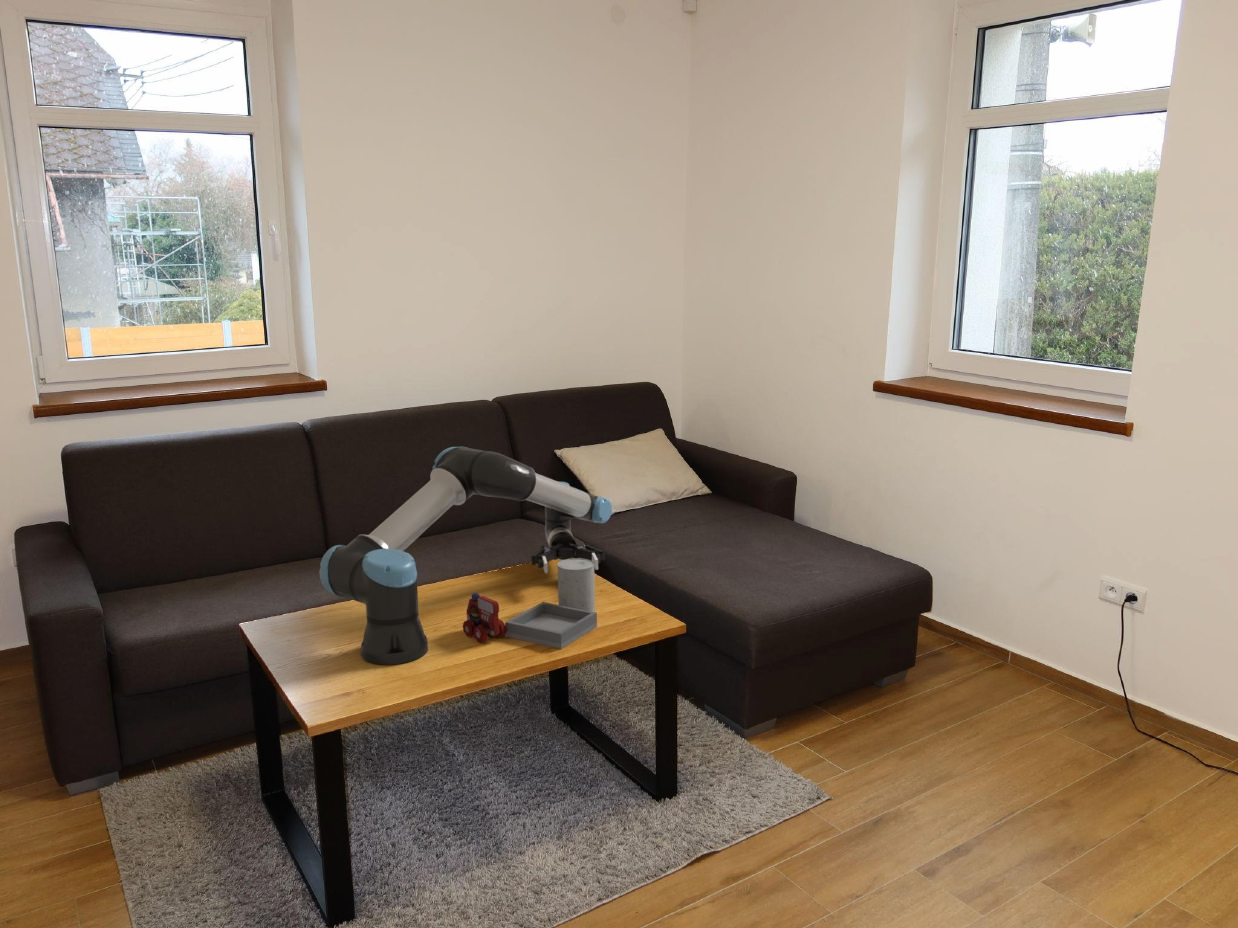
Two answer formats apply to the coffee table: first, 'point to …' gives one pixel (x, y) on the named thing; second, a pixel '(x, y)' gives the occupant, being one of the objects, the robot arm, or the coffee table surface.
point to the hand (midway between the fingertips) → (571, 566)
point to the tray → (551, 625)
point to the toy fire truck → (483, 619)
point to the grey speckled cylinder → (576, 584)
